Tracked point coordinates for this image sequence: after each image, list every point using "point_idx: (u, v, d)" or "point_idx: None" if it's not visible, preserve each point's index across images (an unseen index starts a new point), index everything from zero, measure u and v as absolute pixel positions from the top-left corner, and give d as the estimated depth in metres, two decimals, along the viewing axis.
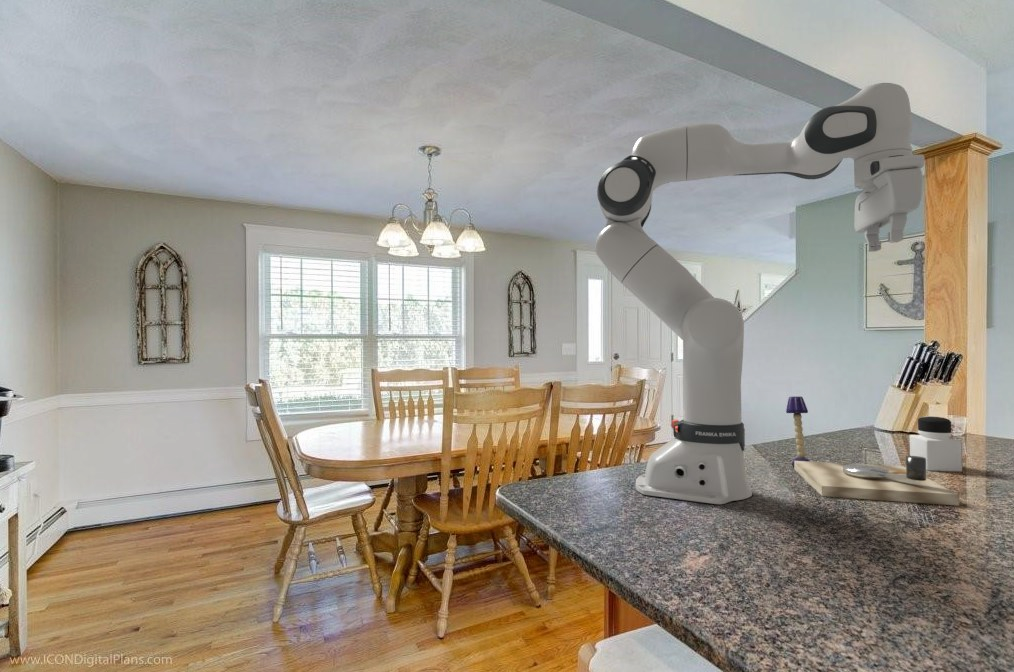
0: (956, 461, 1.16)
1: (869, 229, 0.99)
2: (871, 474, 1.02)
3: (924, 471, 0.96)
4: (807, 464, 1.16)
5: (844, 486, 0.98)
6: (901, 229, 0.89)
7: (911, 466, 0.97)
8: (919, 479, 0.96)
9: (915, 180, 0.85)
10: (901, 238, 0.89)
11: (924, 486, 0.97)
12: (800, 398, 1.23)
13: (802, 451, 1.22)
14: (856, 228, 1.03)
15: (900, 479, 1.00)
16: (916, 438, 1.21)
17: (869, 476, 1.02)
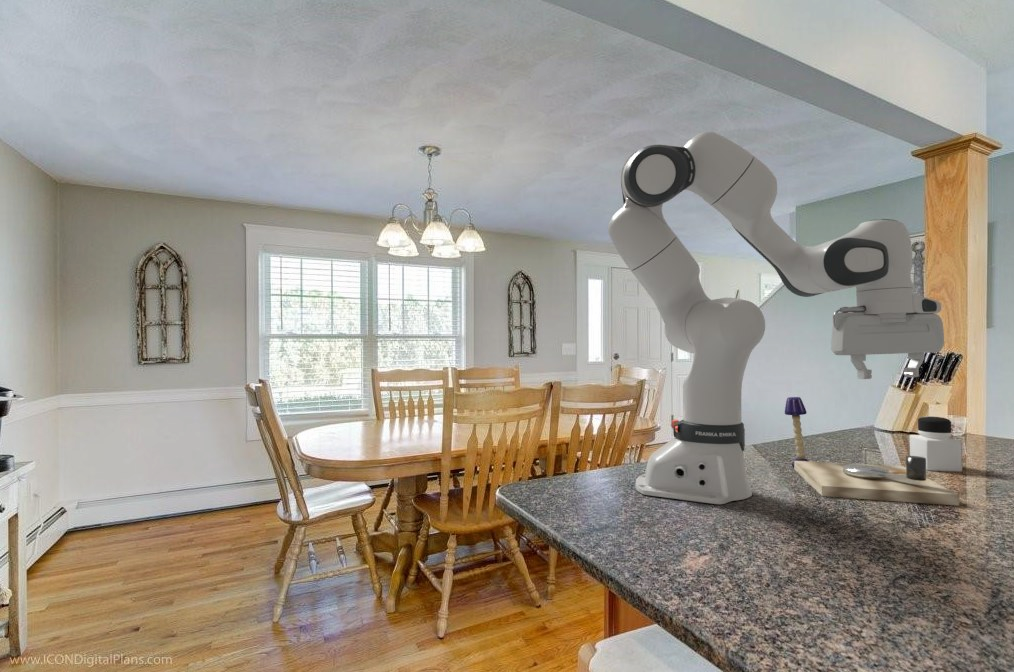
0: (956, 461, 1.16)
1: None
2: (871, 474, 1.02)
3: (924, 471, 0.96)
4: (807, 464, 1.16)
5: (844, 486, 0.98)
6: None
7: (911, 466, 0.97)
8: (919, 479, 0.96)
9: None
10: None
11: (924, 486, 0.97)
12: (798, 399, 1.21)
13: (802, 452, 1.21)
14: (852, 351, 0.94)
15: (900, 479, 1.00)
16: (916, 438, 1.21)
17: (869, 476, 1.02)
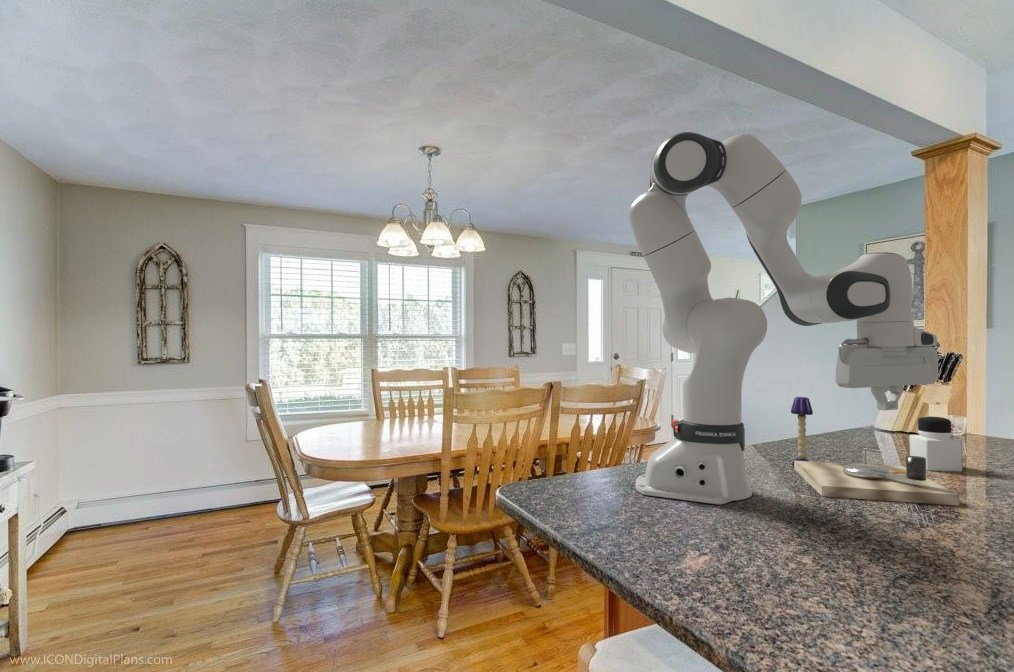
0: (956, 461, 1.16)
1: None
2: (871, 474, 1.02)
3: (924, 471, 0.96)
4: (807, 464, 1.16)
5: (844, 486, 0.98)
6: None
7: (911, 466, 0.97)
8: (919, 479, 0.96)
9: None
10: None
11: (924, 486, 0.97)
12: (806, 399, 1.21)
13: (803, 452, 1.21)
14: (858, 384, 0.93)
15: (900, 479, 1.00)
16: (916, 438, 1.21)
17: (869, 476, 1.02)
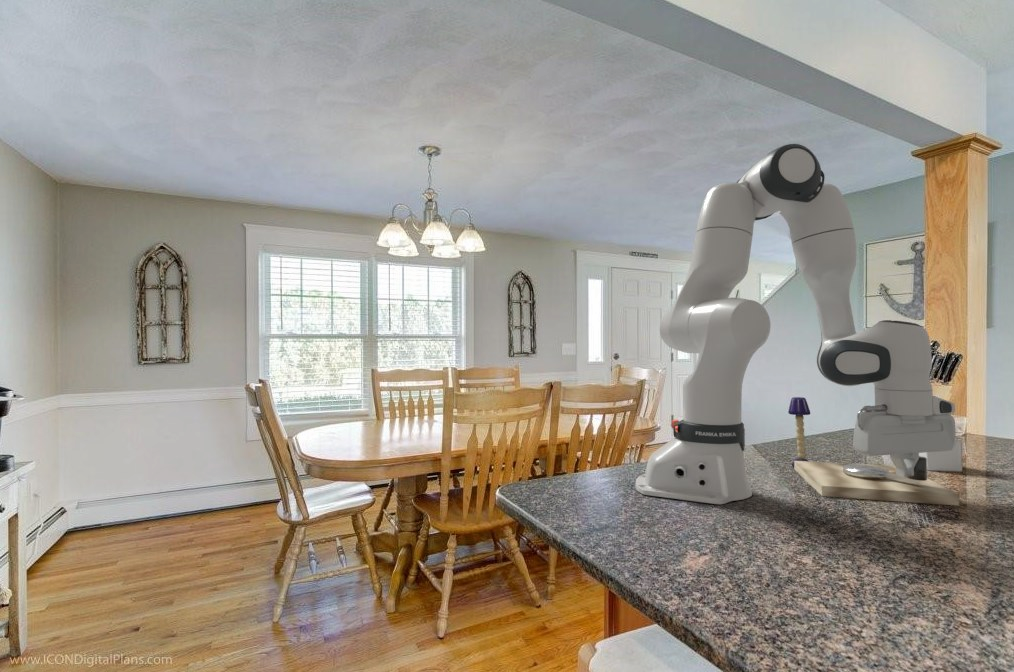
0: (956, 461, 1.16)
1: None
2: (872, 474, 1.02)
3: (925, 471, 0.97)
4: (807, 464, 1.16)
5: (844, 486, 0.98)
6: None
7: None
8: (920, 479, 0.97)
9: None
10: None
11: (924, 486, 0.97)
12: (803, 400, 1.21)
13: (803, 452, 1.21)
14: (876, 452, 0.94)
15: (901, 479, 1.00)
16: None
17: (870, 476, 1.02)
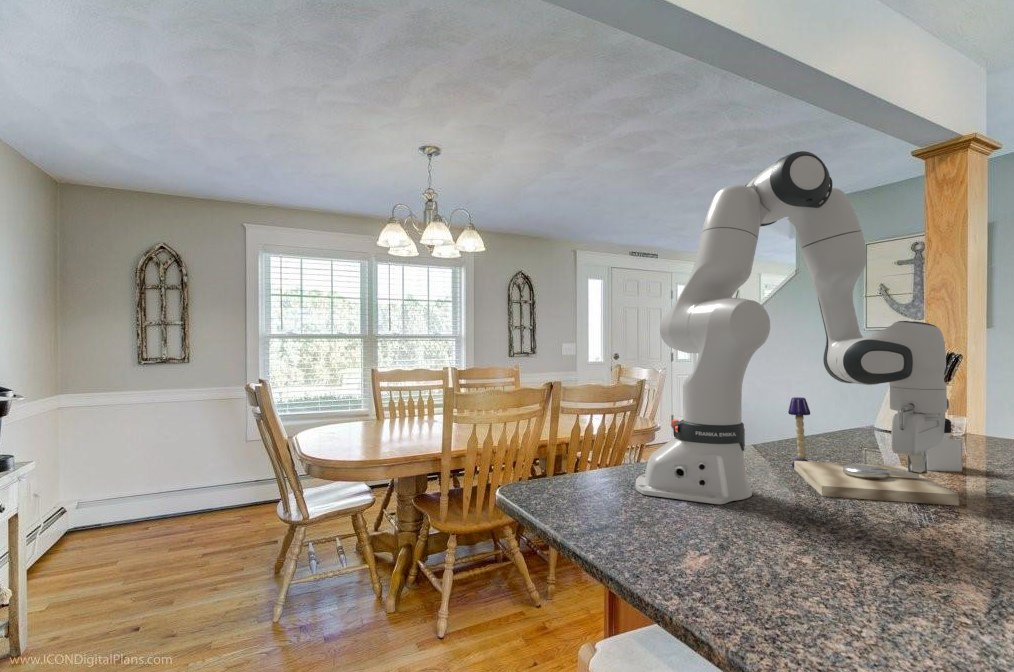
0: (956, 461, 1.16)
1: None
2: (885, 474, 1.02)
3: None
4: (807, 464, 1.16)
5: (844, 486, 0.98)
6: None
7: None
8: (926, 472, 1.01)
9: None
10: None
11: (924, 486, 0.97)
12: (803, 400, 1.21)
13: (803, 453, 1.21)
14: (916, 451, 0.94)
15: (905, 474, 1.03)
16: None
17: (884, 476, 1.02)
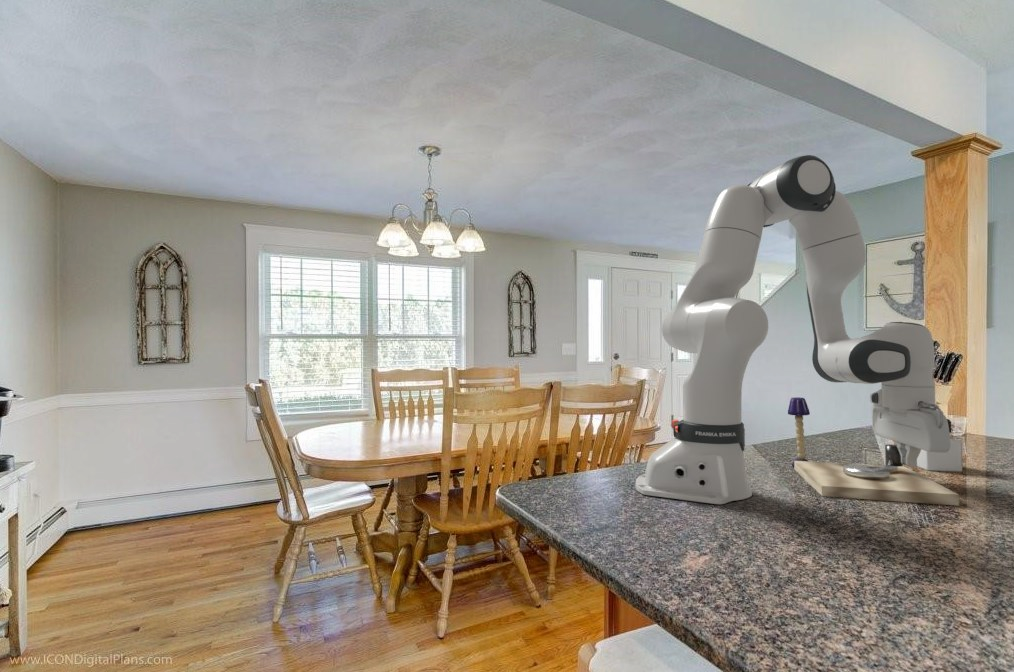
0: (956, 461, 1.16)
1: None
2: None
3: None
4: (807, 464, 1.16)
5: (844, 486, 0.98)
6: None
7: None
8: None
9: None
10: None
11: (924, 486, 0.97)
12: (802, 400, 1.21)
13: (802, 453, 1.21)
14: None
15: (890, 469, 1.07)
16: None
17: None
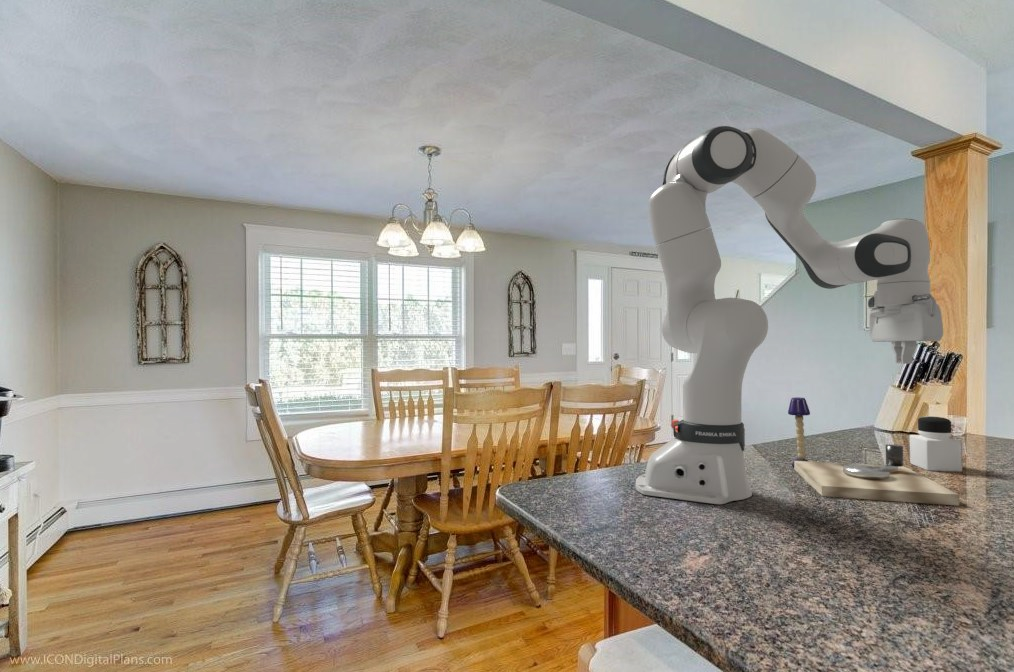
0: (956, 461, 1.16)
1: None
2: None
3: None
4: (807, 464, 1.16)
5: (844, 486, 0.98)
6: None
7: (901, 454, 1.08)
8: None
9: None
10: None
11: (924, 486, 0.97)
12: (802, 400, 1.21)
13: (803, 453, 1.21)
14: None
15: (890, 469, 1.07)
16: (916, 438, 1.21)
17: None
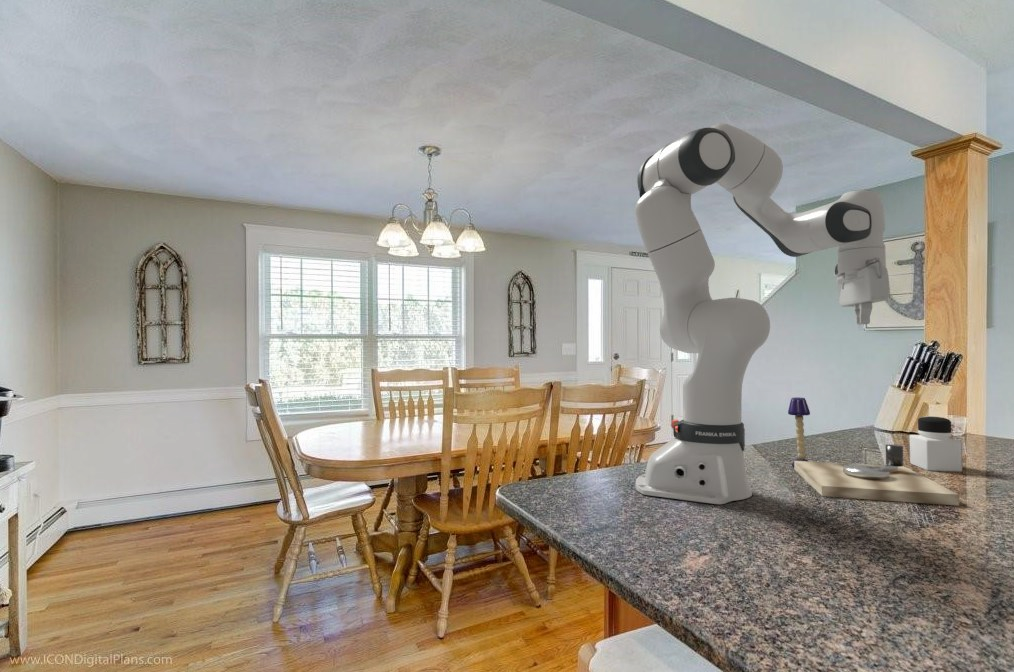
0: (956, 461, 1.16)
1: None
2: None
3: None
4: (807, 464, 1.16)
5: (844, 486, 0.98)
6: None
7: (901, 454, 1.08)
8: None
9: None
10: None
11: (924, 486, 0.97)
12: (802, 400, 1.21)
13: (803, 453, 1.21)
14: None
15: (890, 469, 1.07)
16: (916, 438, 1.21)
17: None
